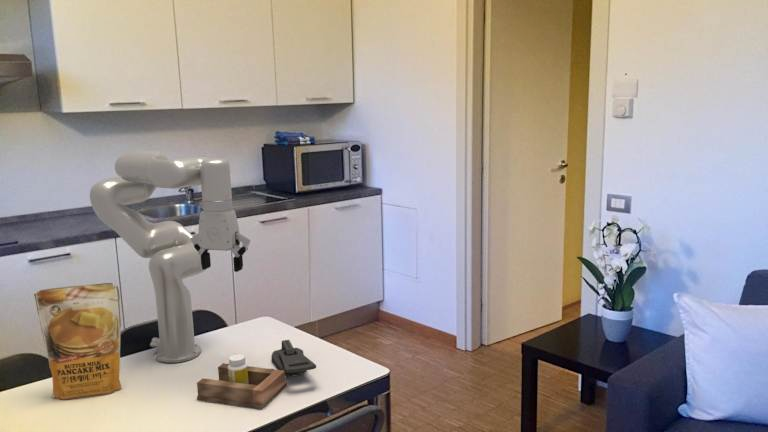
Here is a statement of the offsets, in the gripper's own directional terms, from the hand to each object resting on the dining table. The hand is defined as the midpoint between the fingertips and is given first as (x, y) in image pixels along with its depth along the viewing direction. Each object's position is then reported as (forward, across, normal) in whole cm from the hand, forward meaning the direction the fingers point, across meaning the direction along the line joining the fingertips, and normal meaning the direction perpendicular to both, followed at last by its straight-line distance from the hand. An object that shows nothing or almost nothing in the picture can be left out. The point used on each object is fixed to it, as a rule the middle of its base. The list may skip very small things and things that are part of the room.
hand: (222, 269), depth 174 cm
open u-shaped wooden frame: (+28, +11, -12) cm, 33 cm away
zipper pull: (+29, +18, +3) cm, 34 cm away
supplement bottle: (+28, +10, -12) cm, 32 cm away
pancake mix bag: (+28, -28, -22) cm, 46 cm away
